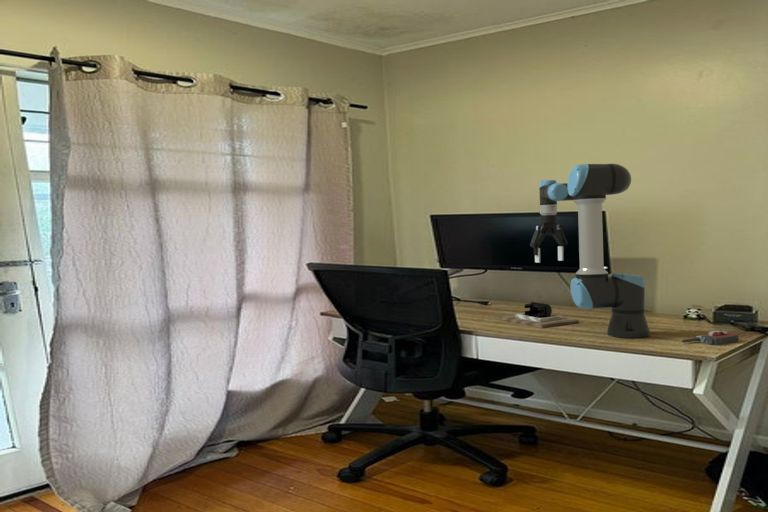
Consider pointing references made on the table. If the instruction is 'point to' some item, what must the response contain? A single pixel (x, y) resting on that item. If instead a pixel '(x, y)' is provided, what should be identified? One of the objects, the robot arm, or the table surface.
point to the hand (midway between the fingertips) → (549, 261)
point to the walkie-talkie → (715, 338)
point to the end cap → (538, 310)
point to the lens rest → (539, 320)
